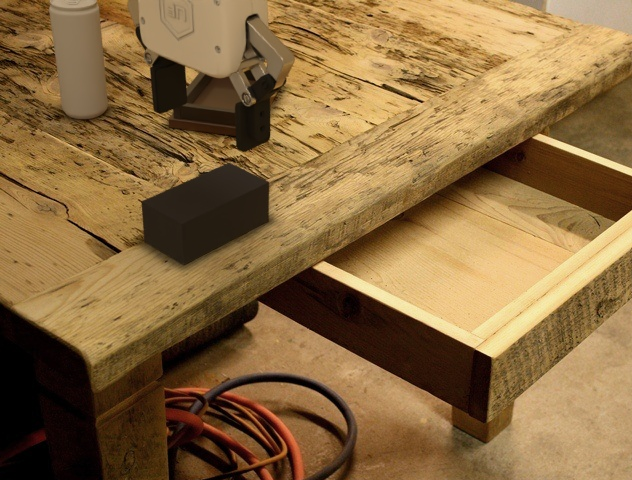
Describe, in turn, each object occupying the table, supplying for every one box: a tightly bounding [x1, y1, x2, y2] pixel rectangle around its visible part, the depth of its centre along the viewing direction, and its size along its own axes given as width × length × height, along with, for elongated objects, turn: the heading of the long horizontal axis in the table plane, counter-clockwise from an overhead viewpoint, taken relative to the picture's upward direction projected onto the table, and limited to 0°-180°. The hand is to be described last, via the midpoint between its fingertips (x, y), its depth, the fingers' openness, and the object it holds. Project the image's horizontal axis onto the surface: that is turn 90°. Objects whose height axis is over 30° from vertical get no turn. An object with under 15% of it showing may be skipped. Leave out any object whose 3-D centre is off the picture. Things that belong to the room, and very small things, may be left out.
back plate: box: [168, 66, 282, 137], centre depth 101 cm, size 14×9×2 cm, turn 170°
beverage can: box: [48, 0, 109, 120], centre depth 96 cm, size 5×5×12 cm
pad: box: [141, 162, 270, 266], centre depth 79 cm, size 10×5×4 cm, turn 140°
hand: (210, 126), depth 75 cm, fingers open, 9 cm apart
